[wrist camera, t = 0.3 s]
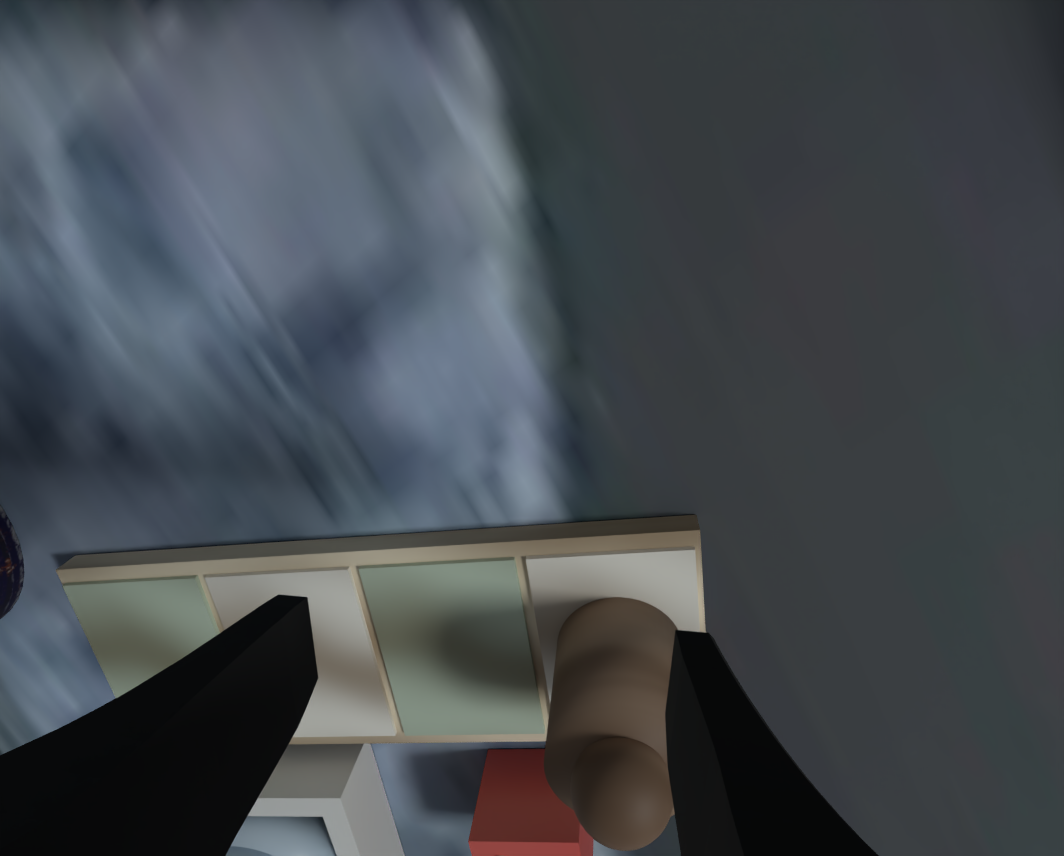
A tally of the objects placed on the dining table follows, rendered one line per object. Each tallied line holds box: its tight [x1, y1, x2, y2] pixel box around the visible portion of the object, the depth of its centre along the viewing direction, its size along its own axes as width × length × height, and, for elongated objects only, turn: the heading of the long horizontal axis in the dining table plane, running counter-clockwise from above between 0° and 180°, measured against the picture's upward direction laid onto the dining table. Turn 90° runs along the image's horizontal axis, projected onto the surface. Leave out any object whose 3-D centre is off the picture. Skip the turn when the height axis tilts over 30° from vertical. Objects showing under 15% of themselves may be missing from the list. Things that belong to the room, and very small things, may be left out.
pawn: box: [544, 597, 678, 851], centre depth 20 cm, size 4×4×7 cm
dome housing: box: [248, 743, 405, 856], centre depth 29 cm, size 10×10×3 cm
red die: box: [468, 749, 593, 856], centre depth 26 cm, size 4×4×4 cm
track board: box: [56, 515, 706, 744], centre depth 25 cm, size 9×24×1 cm, turn 98°
